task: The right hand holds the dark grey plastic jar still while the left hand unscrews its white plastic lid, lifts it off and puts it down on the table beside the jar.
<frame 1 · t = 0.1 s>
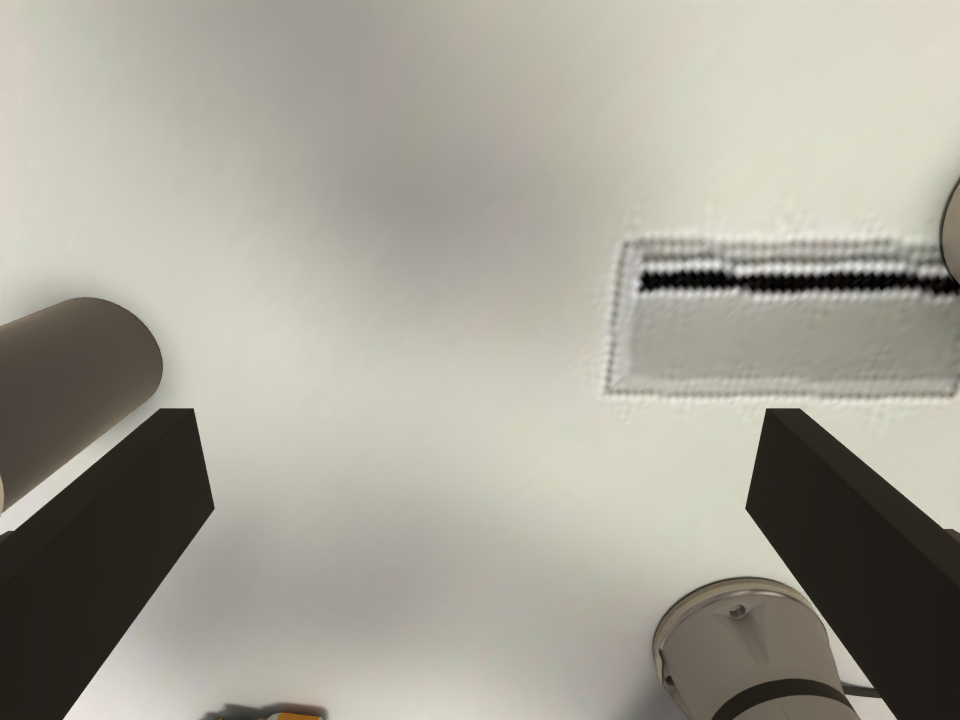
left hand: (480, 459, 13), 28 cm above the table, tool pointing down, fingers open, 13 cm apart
jar: (101, 355, 42), on the table
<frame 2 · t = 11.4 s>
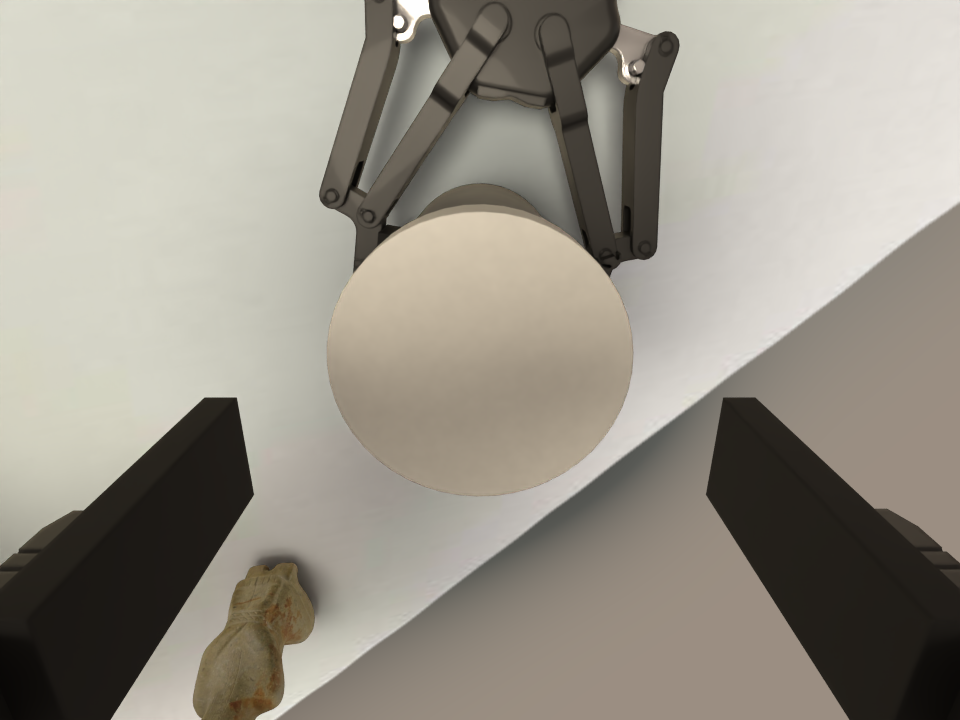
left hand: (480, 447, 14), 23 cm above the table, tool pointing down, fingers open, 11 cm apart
right hand: (467, 362, 31), fingers closed on jar, 9 cm apart
jar: (480, 259, 35), on the table, touching right hand
sculpture: (284, 585, 44), on the table
lid: (480, 364, 19), point 17 cm above the table, screwed on, not yet turned
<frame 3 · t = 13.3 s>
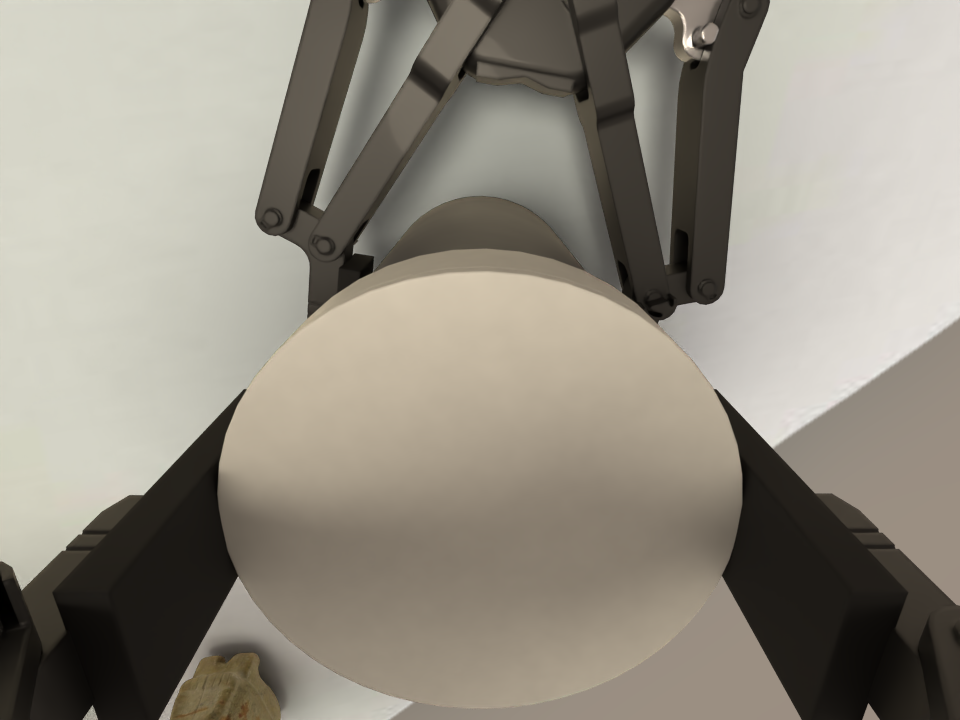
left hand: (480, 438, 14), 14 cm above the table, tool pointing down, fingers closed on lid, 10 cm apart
right hand: (462, 433, 23), fingers closed on jar, 9 cm apart
jar: (479, 292, 27), on the table, touching right hand
sculpture: (244, 676, 37), on the table
lid: (480, 516, 11), point 17 cm above the table, screwed on, not yet turned, touching left hand
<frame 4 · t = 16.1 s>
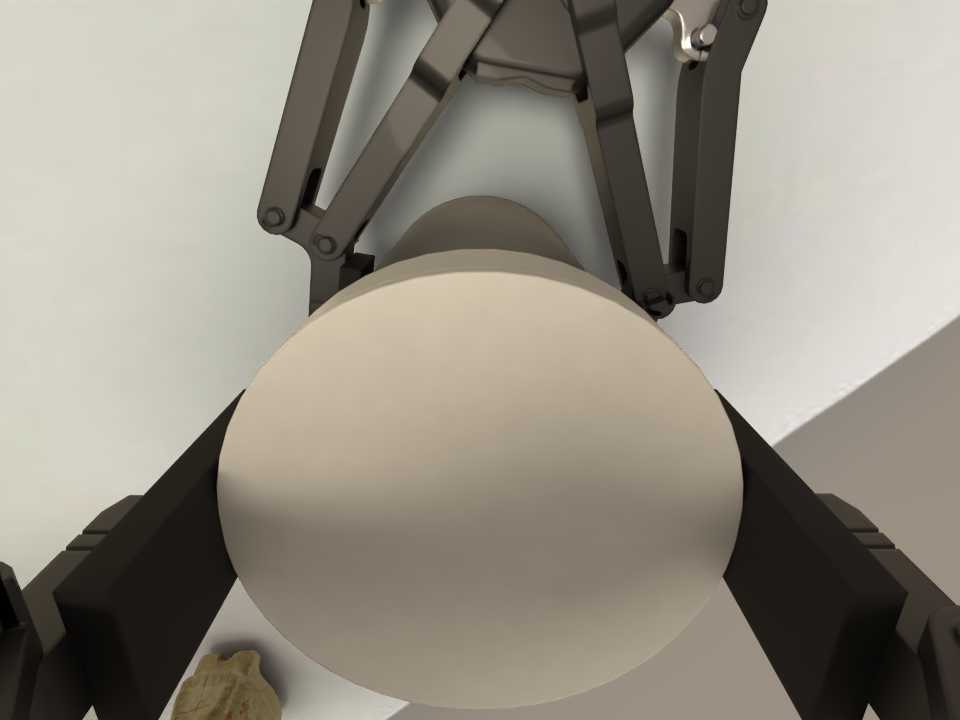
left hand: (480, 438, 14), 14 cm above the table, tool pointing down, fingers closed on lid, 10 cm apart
right hand: (462, 431, 23), fingers closed on jar, 9 cm apart
jar: (480, 291, 27), on the table, touching right hand
sculpture: (245, 674, 37), on the table
lid: (480, 517, 11), point 18 cm above the table, turned 66° so far, risen 0.2 cm, still on its thread, touching left hand
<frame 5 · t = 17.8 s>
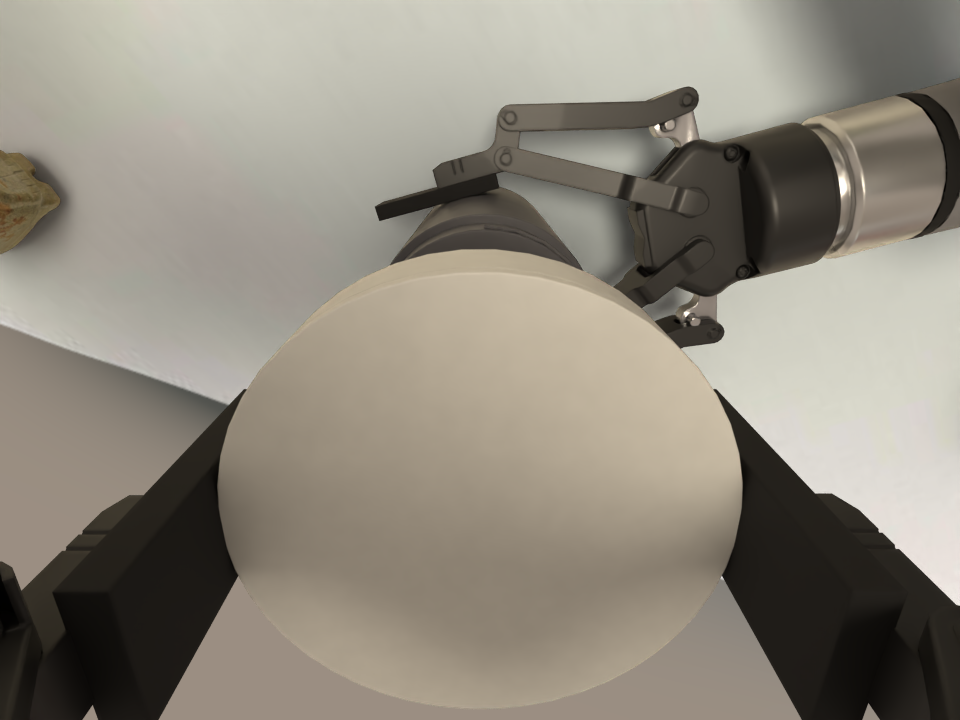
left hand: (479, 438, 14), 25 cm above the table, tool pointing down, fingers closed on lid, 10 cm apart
right hand: (408, 295, 32), fingers closed on jar, 9 cm apart
jar: (484, 256, 37), on the table, touching right hand
sculpture: (19, 200, 36), on the table
lid: (480, 516, 11), point 28 cm above the table, off its thread, touching left hand
when the left hand's fingers open (0 cm above the table, at t = 23.4 s): lid drops 2 cm, point 2 cm above the table.
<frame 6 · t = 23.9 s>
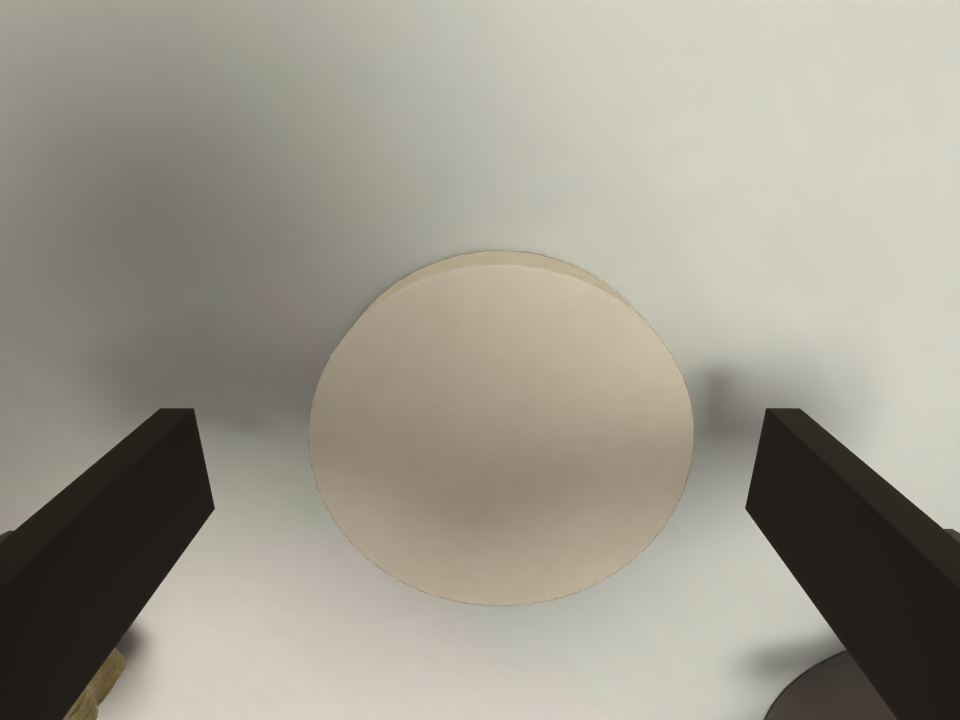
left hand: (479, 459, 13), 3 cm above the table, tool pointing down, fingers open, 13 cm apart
sculpture: (51, 646, 20), on the table
lid: (499, 449, 15), point 2 cm above the table, off its thread
when the right hand's fingers open (6 cm above the table, at t = 24.4 s): jar stays where it is, on the table.
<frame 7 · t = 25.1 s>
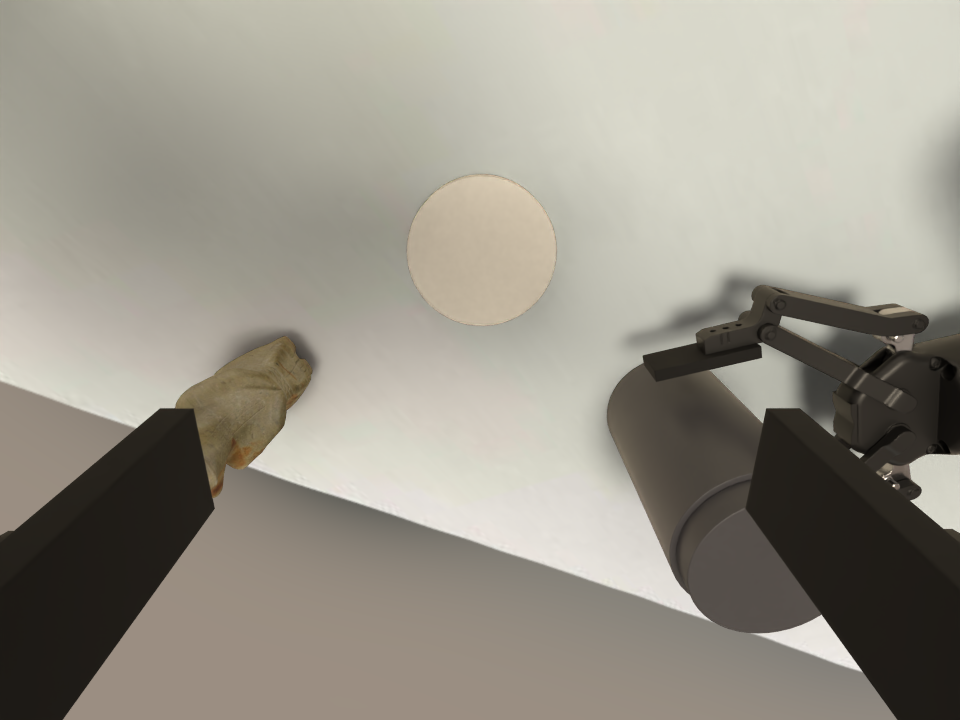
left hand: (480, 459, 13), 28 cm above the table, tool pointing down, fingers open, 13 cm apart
right hand: (662, 457, 38), fingers open, 13 cm apart
jar: (665, 410, 44), on the table
sculpture: (274, 368, 42), on the table
lid: (481, 253, 37), point 2 cm above the table, off its thread
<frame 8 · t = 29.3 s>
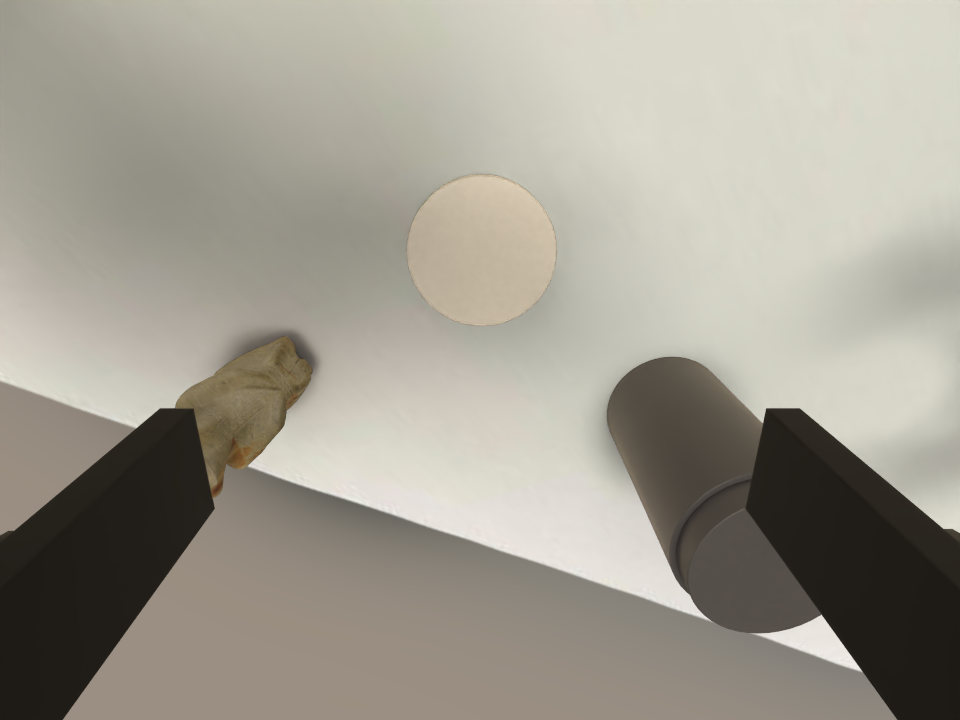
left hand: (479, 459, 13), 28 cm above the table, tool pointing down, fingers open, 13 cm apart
jar: (665, 410, 44), on the table
sculpture: (274, 368, 42), on the table
lid: (481, 253, 37), point 2 cm above the table, off its thread
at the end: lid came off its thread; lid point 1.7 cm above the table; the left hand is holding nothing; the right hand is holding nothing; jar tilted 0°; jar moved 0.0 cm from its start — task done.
